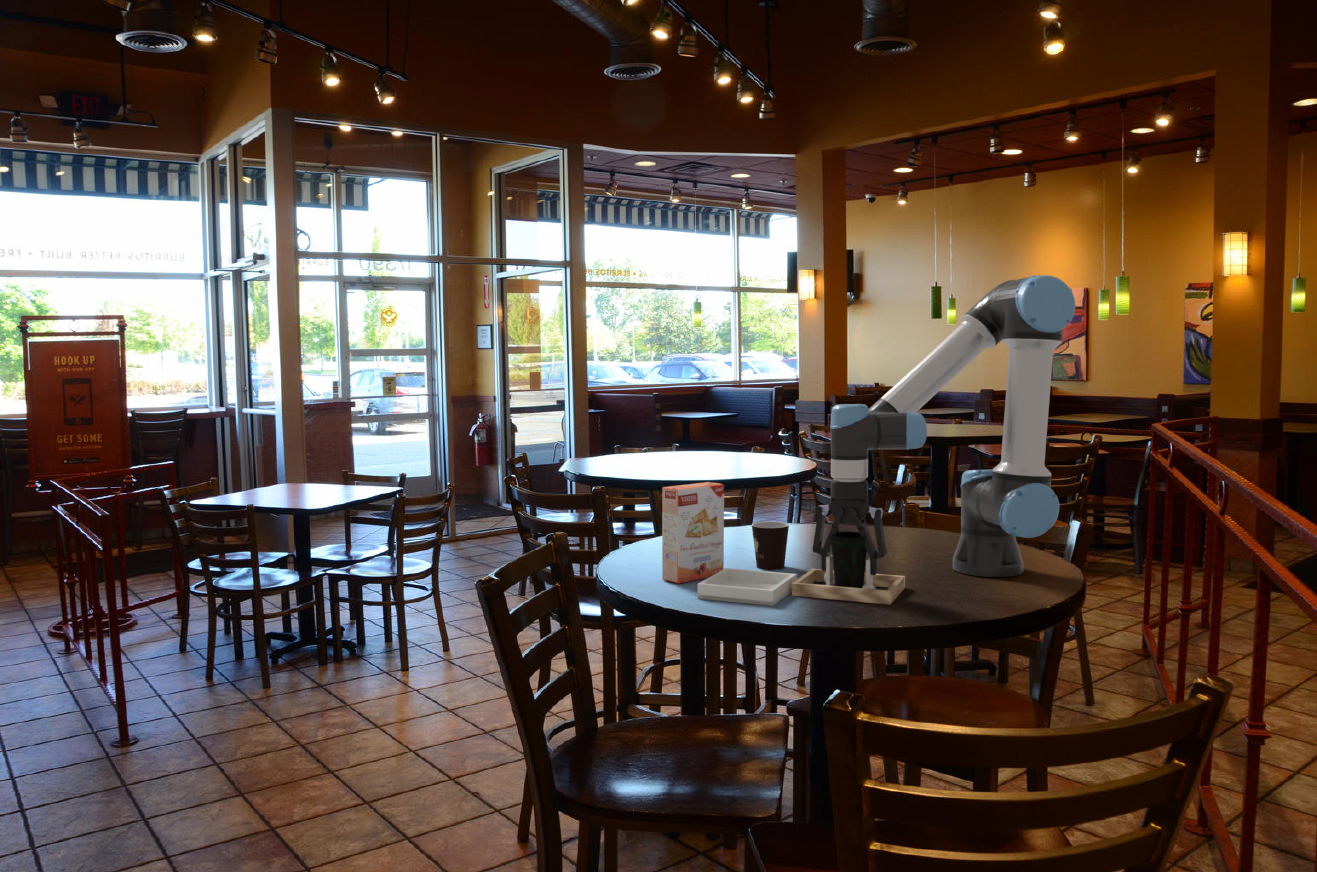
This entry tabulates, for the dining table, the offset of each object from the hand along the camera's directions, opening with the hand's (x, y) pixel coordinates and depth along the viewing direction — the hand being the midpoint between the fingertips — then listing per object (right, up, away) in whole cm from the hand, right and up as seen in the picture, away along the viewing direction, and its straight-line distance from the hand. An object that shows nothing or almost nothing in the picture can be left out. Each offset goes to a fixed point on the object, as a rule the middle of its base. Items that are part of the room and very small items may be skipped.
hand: (849, 588), depth 197 cm
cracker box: (-32, 0, +15) cm, 35 cm away
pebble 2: (+3, -1, -6) cm, 7 cm away
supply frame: (0, -1, 0) cm, 1 cm away
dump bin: (-21, -1, 0) cm, 21 cm away
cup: (0, -1, 0) cm, 1 cm away
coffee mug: (-13, +1, +26) cm, 29 cm away
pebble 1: (-3, 0, +6) cm, 7 cm away
